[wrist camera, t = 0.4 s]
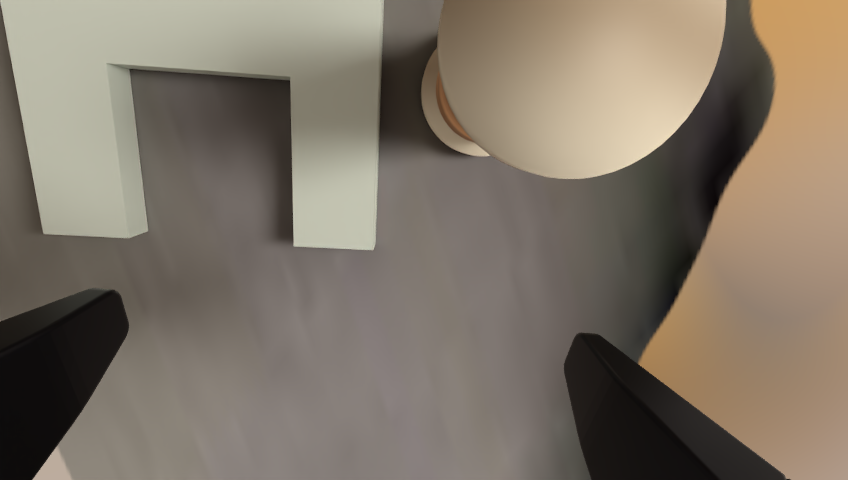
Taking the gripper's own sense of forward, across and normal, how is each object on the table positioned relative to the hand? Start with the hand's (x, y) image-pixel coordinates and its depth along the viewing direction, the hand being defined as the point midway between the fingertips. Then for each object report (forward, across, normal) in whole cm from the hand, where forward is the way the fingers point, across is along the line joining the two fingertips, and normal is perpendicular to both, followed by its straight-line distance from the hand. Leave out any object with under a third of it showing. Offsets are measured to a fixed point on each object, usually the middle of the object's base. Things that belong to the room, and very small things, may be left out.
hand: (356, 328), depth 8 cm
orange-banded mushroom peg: (+15, -4, -3) cm, 16 cm away
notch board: (+14, +9, -1) cm, 17 cm away
